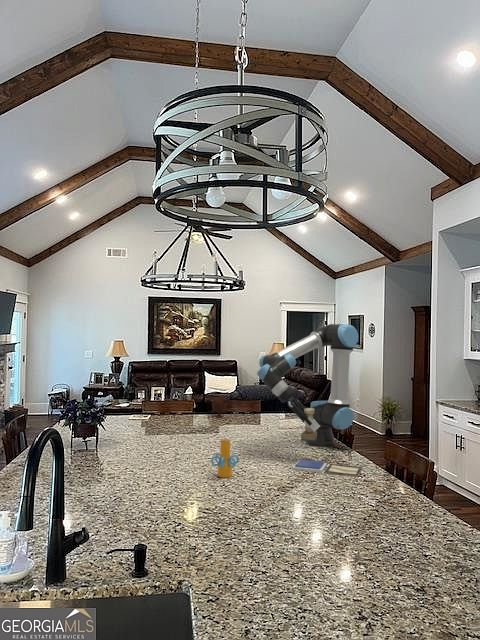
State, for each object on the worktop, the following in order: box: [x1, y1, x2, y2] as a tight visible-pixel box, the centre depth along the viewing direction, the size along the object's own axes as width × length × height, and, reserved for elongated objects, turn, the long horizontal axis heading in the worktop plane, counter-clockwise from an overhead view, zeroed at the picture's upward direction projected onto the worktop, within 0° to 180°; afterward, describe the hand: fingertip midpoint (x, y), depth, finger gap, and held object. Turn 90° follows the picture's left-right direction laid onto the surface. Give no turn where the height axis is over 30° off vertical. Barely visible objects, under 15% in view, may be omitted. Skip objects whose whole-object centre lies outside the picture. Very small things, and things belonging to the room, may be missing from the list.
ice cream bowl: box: [211, 395, 228, 419], centre depth 368 cm, size 11×11×15 cm
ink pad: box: [291, 459, 328, 473], centre depth 240 cm, size 13×13×2 cm
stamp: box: [300, 407, 317, 442], centre depth 253 cm, size 7×6×14 cm
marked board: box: [324, 463, 363, 478], centre depth 235 cm, size 14×14×1 cm
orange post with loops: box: [210, 438, 240, 479], centre depth 224 cm, size 12×10×15 cm
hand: (317, 429), depth 252 cm, fingers closed on stamp, 4 cm apart
